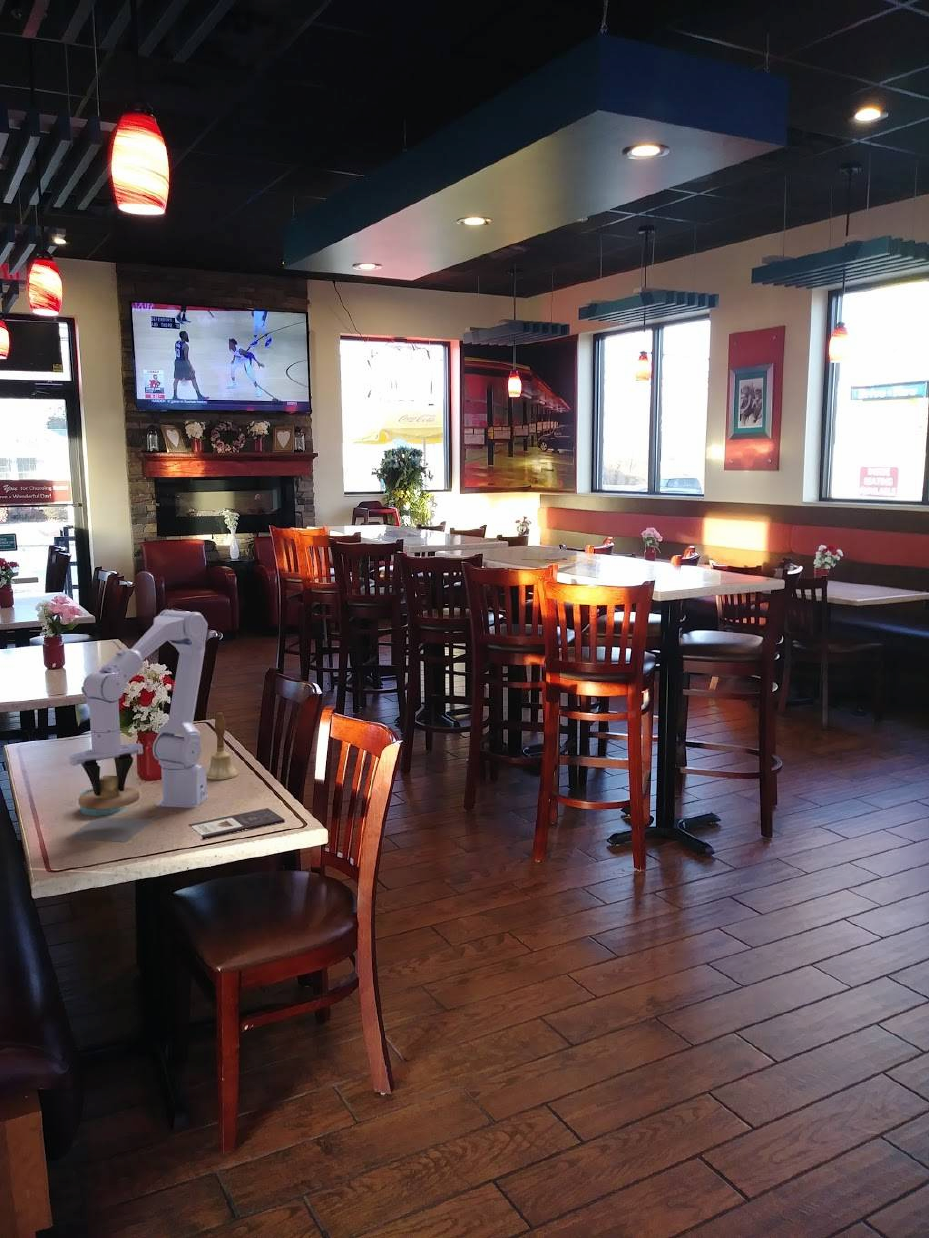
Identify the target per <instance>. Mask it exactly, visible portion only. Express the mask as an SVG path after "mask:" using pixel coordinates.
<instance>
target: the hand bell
mask: <svg viewBox="0 0 929 1238" xmlns="http://www.w3.org/2000/svg"><path fill="white" fill-rule="evenodd" d="M214 731H215V732H214V733H215V734H216V751H215V752H213V753H212V754H211V755H210V756H211V758H210V765H209V767H208V770H206V780H212V781H216V780H218V781H220V780H221V781H222V780H228V779H232V778H235V777H237V776H238V775H239V772H238V770H237V769H235V767H234V766H233V763H232V761H231V760H232V759H231V754H230V753H229V752H227V751H225V748H224V747H225V742H224V736H225V732H226V720H225V717H224V714H223V712H221V711H220V712H217V713H216V717H215V720H214Z"/></svg>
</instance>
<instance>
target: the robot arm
mask: <svg viewBox="0 0 929 1238" xmlns="http://www.w3.org/2000/svg"><path fill="white" fill-rule="evenodd" d="M208 626H209V623H208V622H207V620H206V619H205V617H204V616H203V614H202V613H201V612H199V611H198V612H197V611H192V612H191V611H183V610H182V611H181V610H172V609H164V610H161V612H160V613H159V614H158V615H157V616H155V617H154V618H153V624H152V626H151V627H150V628H149V629H148V630H146V632H145V633H144V634H143V636H141V637H140V639H138V641H137V642H136V643H135V644H134V645H133V646H132V647H131V648H123V649H118V650H117V651H116V652H115V655H114V657H112V658H111V659H110V660H109V661H108V662H107V663H106V664H104V665H103V666H102V667H101V668H100V669H99V671H93V672H90V673H89V674H88V675H87V676H86V677H85V679H84V681H83V683H82V684H83V685H82V686H80V687H81V693H82V694H83V696H84V698H85V699H86V705H87V707H89V708H88V709H89V723H90V724H89V725H90V727H89V728H90V739H91V740H90V741H91V743H90V744H91V749H88V750H85V751H80V752H77V753H73V754H69V764H70V765H71V766H72V767H75V766H76V767H77V766H79V765H80V764H81V766H82V767H83V769H84V771H85V773H86V774H87V777H88V779H89V782H90V784H91V788H93V791H94V794H95V795H96V796H100V794H101V790H100V778H101V777H100V776H101V775H100V774H101V766H100V765H98V764H99V763H98V761H104V760H110V759H114V765H115V771H116V776H118V777H119V791H124V787H125V784H126V780H127V777H128V773H129V771H130V769H131V767H132V765H133V763H134V757H132V755H142V754H144V748H143V744H142V743H140V742H138V743H129V744H126V743H125V744H122V740H121V725H120V721H121V720H120V708H119V707H120V705H119V704H120V703H119V702H120V701H119V699H121V698H122V697H123V695H124V692H125V688H126V687H127V685H128V683H129V682H130V681H131V680H132V679H133V678H134V677H135V676H136V675H137V674H139V672H140V671H141V670H142V669H143V667H144V660H145V659H146V658H148V657H149V656H150V655H151V654H152V653H154V652H155V651H156V650H157V649H158V648H160V647H161V646H162V645H163V644H165V643H166V642H169V643H170V644H171V645H172V646H173V647H175V649H176V650H177V652H178V653H179V656H178V661H177V667H176V673H175V678H174V685H173V692H172V697H171V703H170V708H169V714H168V715H169V716H168V720H167V721H166V723H164V724H163V725H161V726H159V729H158V732H157V736H156V738H155V740H154V741H153V744H152V755H153V757H154V758H155V760H157V761H158V765H159V766H160V768H161V786H162V787H161V789H162V791H161V792H162V799H161V800H160V801H159V802H157V803H156V804H155V807H166V808H167V807H169V808H191V809H195V808H197V807H199V805H201V804H202V803H203V802H204V801H205V800H207V799H208V798H209V795H208V791H207V790H208V787H207V785H208V780H207V778H206V772H207V770H206V767H205V766H203V765H200V764H198V763H197V762H199V759H200V758H201V754H202V745H201V737H202V734H201V732H200V731H199V730H198V729H197V727H196V726H195V725H194V719H195V713H196V708H197V700H198V695H199V687H200V684H201V683H200V682H201V676H202V671H203V670H202V669H203V664H204V656H205V652H206V639H207V633H208V632H207V631H208Z"/></svg>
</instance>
